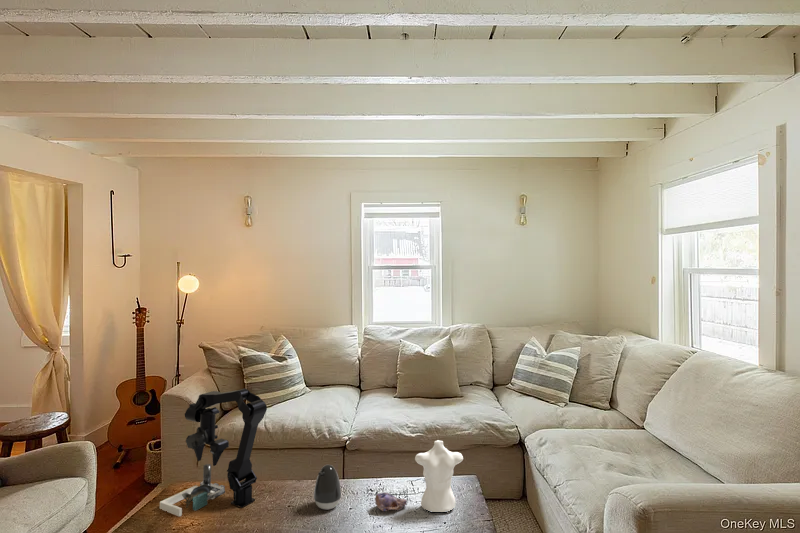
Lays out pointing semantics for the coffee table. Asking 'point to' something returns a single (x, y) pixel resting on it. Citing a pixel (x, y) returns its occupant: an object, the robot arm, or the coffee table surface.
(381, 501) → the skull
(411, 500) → the coffee table surface
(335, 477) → the grey rounded egg shape
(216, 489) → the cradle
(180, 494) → the frame
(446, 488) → the torso sculpture
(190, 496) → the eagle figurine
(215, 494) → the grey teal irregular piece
